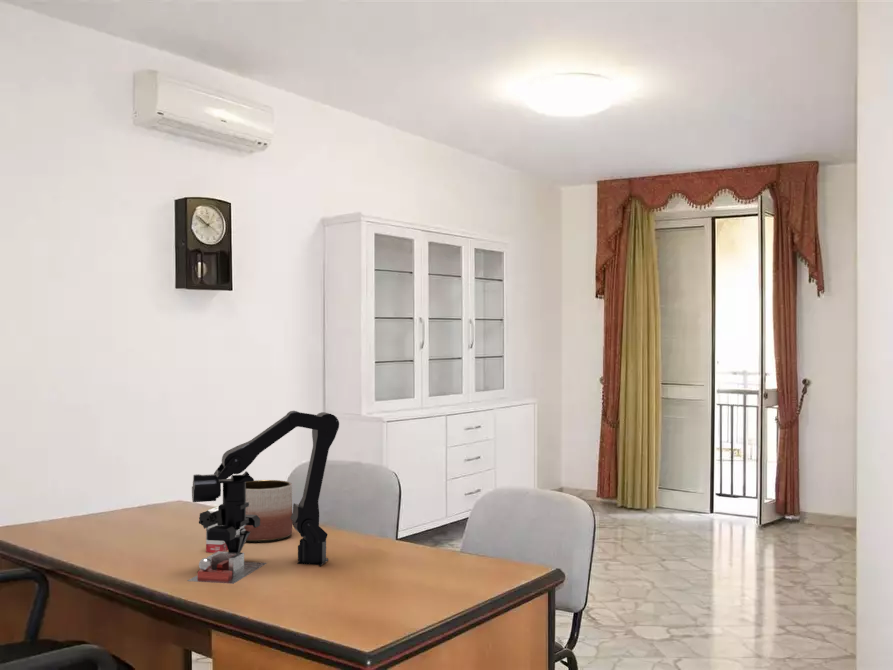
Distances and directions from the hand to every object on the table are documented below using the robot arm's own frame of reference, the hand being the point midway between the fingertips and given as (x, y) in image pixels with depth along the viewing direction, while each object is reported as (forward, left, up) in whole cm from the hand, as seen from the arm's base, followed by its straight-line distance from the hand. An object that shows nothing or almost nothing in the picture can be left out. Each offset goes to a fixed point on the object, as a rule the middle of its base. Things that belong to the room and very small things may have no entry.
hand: (234, 561), depth 215 cm
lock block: (0, +5, -2) cm, 5 cm away
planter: (+9, -38, -3) cm, 39 cm away
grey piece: (0, +3, -2) cm, 4 cm away
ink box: (+13, -19, -3) cm, 23 cm away
